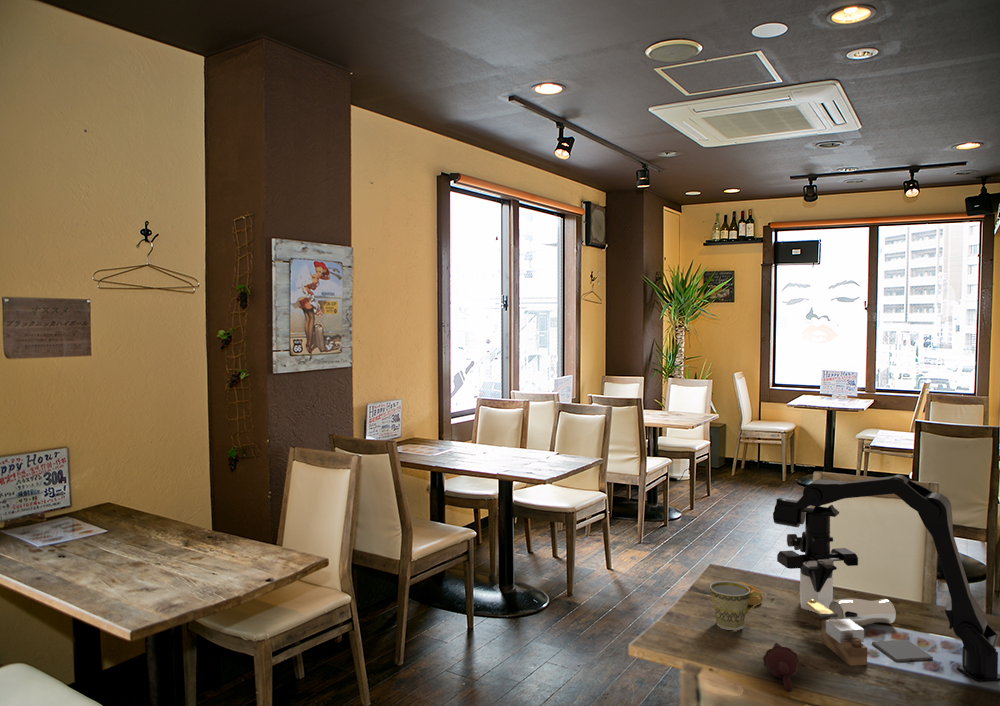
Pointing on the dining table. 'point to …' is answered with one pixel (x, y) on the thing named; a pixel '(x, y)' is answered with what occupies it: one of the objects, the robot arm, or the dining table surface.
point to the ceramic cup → (731, 603)
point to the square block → (844, 630)
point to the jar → (809, 593)
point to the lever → (820, 609)
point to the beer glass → (863, 611)
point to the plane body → (846, 648)
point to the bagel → (754, 598)
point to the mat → (902, 650)
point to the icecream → (781, 663)
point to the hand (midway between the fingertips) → (817, 591)
